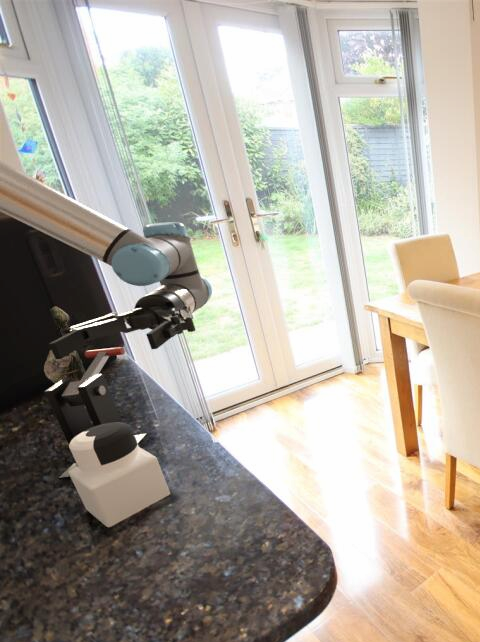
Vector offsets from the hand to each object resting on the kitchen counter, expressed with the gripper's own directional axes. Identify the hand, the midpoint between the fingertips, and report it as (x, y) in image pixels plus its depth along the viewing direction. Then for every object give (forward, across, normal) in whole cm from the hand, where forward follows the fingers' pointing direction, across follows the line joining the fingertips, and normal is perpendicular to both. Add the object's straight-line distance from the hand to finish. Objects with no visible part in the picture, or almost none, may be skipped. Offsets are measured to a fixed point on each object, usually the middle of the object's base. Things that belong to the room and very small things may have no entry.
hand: (103, 346), depth 74 cm
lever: (+5, 0, -4) cm, 6 cm away
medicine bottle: (+22, -9, -16) cm, 29 cm away
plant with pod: (-14, +16, -16) cm, 26 cm away
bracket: (+9, 0, -16) cm, 18 cm away
